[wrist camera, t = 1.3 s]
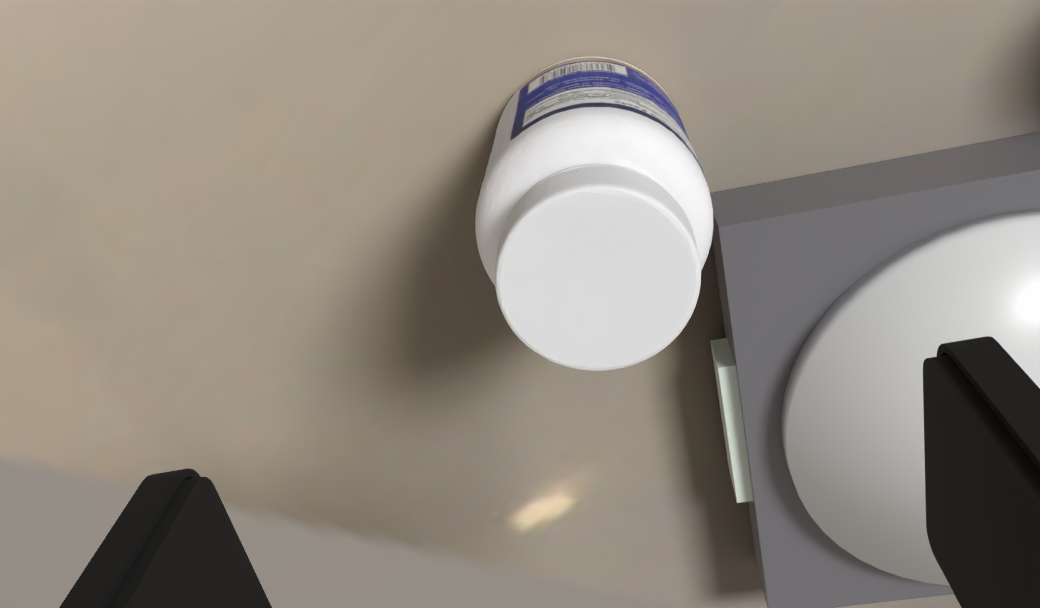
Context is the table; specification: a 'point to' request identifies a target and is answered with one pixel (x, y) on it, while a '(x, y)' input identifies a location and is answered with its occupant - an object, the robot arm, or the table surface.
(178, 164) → the table surface
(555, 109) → the pill bottle
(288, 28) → the table surface
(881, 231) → the scale
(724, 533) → the table surface
